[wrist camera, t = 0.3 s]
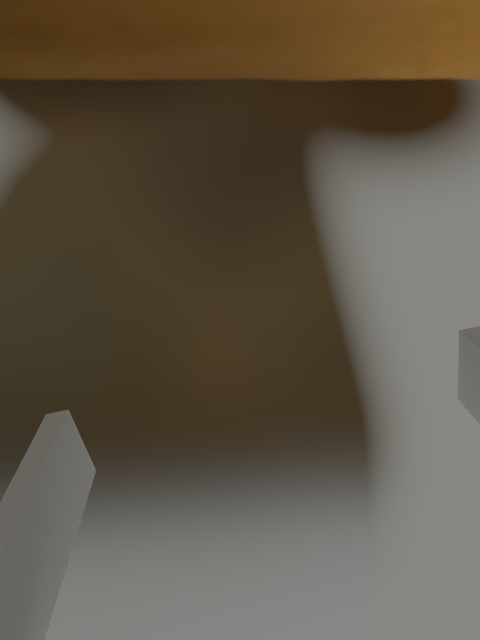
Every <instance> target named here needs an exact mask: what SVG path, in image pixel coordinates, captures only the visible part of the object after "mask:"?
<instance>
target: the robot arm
mask: <svg viewBox="0 0 480 640" xmlns="http://www.w3.org/2000/svg"><path fill="white" fill-rule="evenodd" d="M458 374H459V375H458V378H459V379H458V399H459V400H460V402H461V403H462V404H463V405H464V406H465V408H466V409H467V410H468V411H469V412H470V413H471V415H472V416H473V417H474V418H475V419H476V421H477V422H478V423H479V424H480V326H479V327H474V328H469V329H464V330H459V373H458ZM95 472H96V470H95V468H94V466H93V463H92V461H91V459H90V457H89V455H88V452H87V450H86V448H85V446H84V443H83V441H82V439H81V437H80V435H79V432H78V430H77V428H76V426H75V424H74V421H73V419H72V417H71V415H70V412H69V411H68V410H65V411H60V412H56V413H51V414H46V416H45V418H44V420H43V422H42V423H41V425H40V427H39V429H38V431H37V433H36V435H35V437H34V439H33V441H32V443H31V445H30V447H29V449H28V450H27V452H26V455H25V456H24V458H23V460H22V462H21V464H20V466H19V468H18V470H17V472H16V474H15V476H14V477H13V480H12V481H11V483H10V485H9V487H8V489H7V491H6V493H5V495H4V497H3V499H2V501H1V503H0V640H44V639H45V636H46V632H47V628H48V626H49V622H50V619H51V616H52V613H53V609H54V606H55V603H56V600H57V596H58V593H59V589H60V586H61V583H62V580H63V577H64V573H65V570H66V567H67V563H68V560H69V557H70V553H71V550H72V547H73V544H74V540H75V537H76V534H77V531H78V527H79V524H80V521H81V518H82V514H83V511H84V508H85V504H86V501H87V498H88V495H89V491H90V488H91V485H92V482H93V478H94V475H95Z"/></svg>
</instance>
